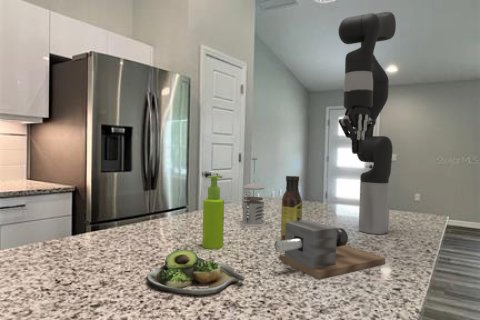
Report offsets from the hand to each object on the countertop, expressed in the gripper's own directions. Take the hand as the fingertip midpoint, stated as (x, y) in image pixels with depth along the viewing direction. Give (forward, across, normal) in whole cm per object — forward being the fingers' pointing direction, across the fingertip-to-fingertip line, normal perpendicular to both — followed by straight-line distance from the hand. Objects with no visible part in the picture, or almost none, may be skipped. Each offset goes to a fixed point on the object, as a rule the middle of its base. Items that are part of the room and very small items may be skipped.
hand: (357, 153), depth 94 cm
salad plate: (+26, +48, -3) cm, 55 cm away
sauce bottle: (+27, +9, -17) cm, 33 cm away
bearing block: (+27, +13, +4) cm, 30 cm away
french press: (+27, +7, -41) cm, 50 cm away
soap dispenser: (+26, +33, -23) cm, 48 cm away
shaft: (+23, +20, +4) cm, 31 cm away
